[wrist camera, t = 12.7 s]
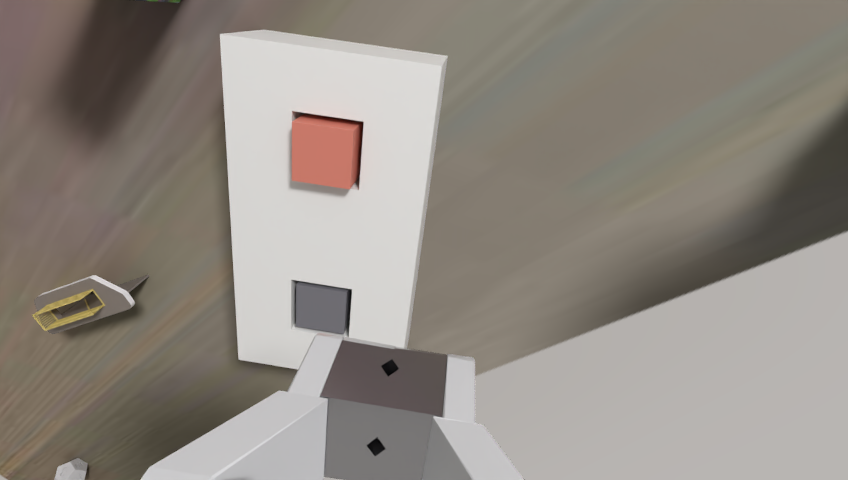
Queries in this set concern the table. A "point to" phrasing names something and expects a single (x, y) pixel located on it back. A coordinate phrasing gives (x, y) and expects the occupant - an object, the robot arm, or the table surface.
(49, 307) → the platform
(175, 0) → the syrup box
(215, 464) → the robot arm
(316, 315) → the gray rectangular block
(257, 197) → the block
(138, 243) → the table surface
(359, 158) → the red plug
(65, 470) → the grey irregular lump
